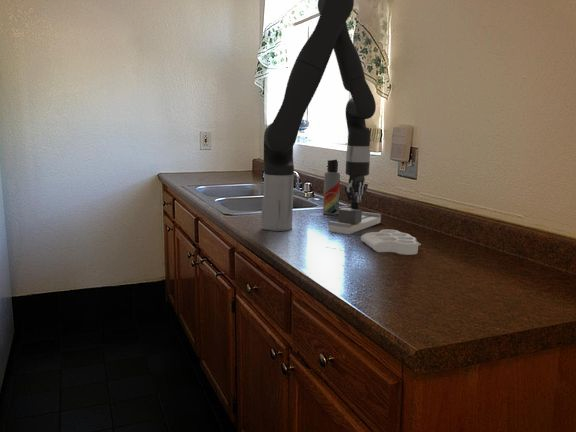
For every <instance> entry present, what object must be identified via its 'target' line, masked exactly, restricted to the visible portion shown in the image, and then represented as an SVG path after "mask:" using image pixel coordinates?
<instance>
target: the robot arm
mask: <svg viewBox="0 0 576 432" xmlns="http://www.w3.org/2000/svg"><path fill="white" fill-rule="evenodd" d="M354 5H355V2H354V0H318V1H317V9H318V13H319V17H318V20H317V22H316V26H315V27H314V30H313V31H312V33H311V35H310V36H309V38H308V39H307V41H306V42H305V43H304V44H303V46H302V48H301V50H300V51H299V53H298V54H297V57H296V59H295V61H294V63H293V65H292V68H291V71H290V73H289V76H288V79H287V84H286V88H285V92H284V95H283V99H282V103H281V105H280V108H279V110H278V112H277V114H276V116H275V118H274V119H273V121H272V122H271V123H270V124H269V125H267V126H266V128H265V130H264V134H263V198H262V199H261V226H260V227H261V229H262V230H266V231H267V230H268V231H271V232H272V231H273V232H281V231H283V232H284V231H290V230H292V229H293V213H294V212H293V206H294V181H295V180H294V175H295V166H294V145H295V143H296V141H297V137H298V134H299V130H300V127H301V124H302V121H303V118H304V115H305V113H306V111H307V109H308V107H309V106H310V103H312V102H311V101H312V99H313V97H314V96H315V94H316V92H317V89H318V87H319V85H320V83H321V80H322V79H323V76H324V74H325V71H326V68H327V67H328V66H327V65H328V64H329V62H330V58H331V56H332V54H333V53H334V54H335V55H334V56H335V58H336V62H337V66H338V70H339V74H340V77H341V81H342V85H343V88H344V89H345V90H346V91H347V92H349V93H350V96H351V98H349V100H348V101H347V103H346V106H345V120H346V126H347V131H348V134H347V149H346V153H345V154H346V156H345V160H346V161H345V175H346V176H349V178H348V185H345V186H344V191H345V194H346V197H347V200H348V201H350V202H351V203H350V204H351V205H350V206H351V207H350V208H353V209H360V204H361V202H362V200H364V198H365V196H366V192H367V191H368V190H367V189H368V186H369V183H366V179H365V178H366V177H367V176H369V175H370V163H371V162H370V161H371V149H370V148H371V147H370V146H371V130H370V129H369V127H367V126H366V120H369V119H371V118H372V117H374V115H375V114H376V109H377V108H376V106H377V105H376V104H377V103H376V100H375V97H374V94H373V92H372V90H371V88H370V86H369V85H368V82H367V80H366V76H365V72H364V68H363V67H364V66H363V63H362V61H361V57H360V55H359V53H358V50H357V49H356V46H355V44H354V42H353V40H352V38H351V36H350V32H349V28H348V24H347V21H348V19H349V17H350V15H351V14H352V13H353V10H354ZM333 51H334V52H333Z"/></svg>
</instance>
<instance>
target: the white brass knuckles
mask: <svg viewBox="0 0 576 432" xmlns="http://www.w3.org/2000/svg"><path fill="white" fill-rule="evenodd" d="M360 240H361V242H363V243H365V244H366V245H367V246H368V247H369V248H371V249H372V250H373V251H375V252H377V253H396V254H398V255H408V256H409V255H417V254H418V252H419V246H421V245H422V244H421V243H420V242H418V240H417V237H414V236H412V235H411V234H409V233H407V232H402V231H399V230H396V229H380V230H379V231H377V232H376V231H375V232H374V231H372V232H366V233H364V234H362V235H361V237H360Z"/></svg>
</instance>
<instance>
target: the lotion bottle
mask: <svg viewBox="0 0 576 432" xmlns="http://www.w3.org/2000/svg"><path fill="white" fill-rule="evenodd" d="M340 183H341V173H340V172H339V160H338V159H330V160H327V170H326V171H324V181H323V205H322V213H323V214H324V215H329V216H332V215H333V216H334V215H338V213H339V209H340V207H339V206H340V190H341V189H340V185H341V184H340Z"/></svg>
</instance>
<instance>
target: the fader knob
mask: <svg viewBox="0 0 576 432" xmlns="http://www.w3.org/2000/svg"><path fill="white" fill-rule="evenodd" d="M362 212H363V209H360V208H359V209H353V208H351V207H341V208H339V210H338V214H337V215H338V217H337V222H344V223H351V224H357V223H360V222H361V219H362Z"/></svg>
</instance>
